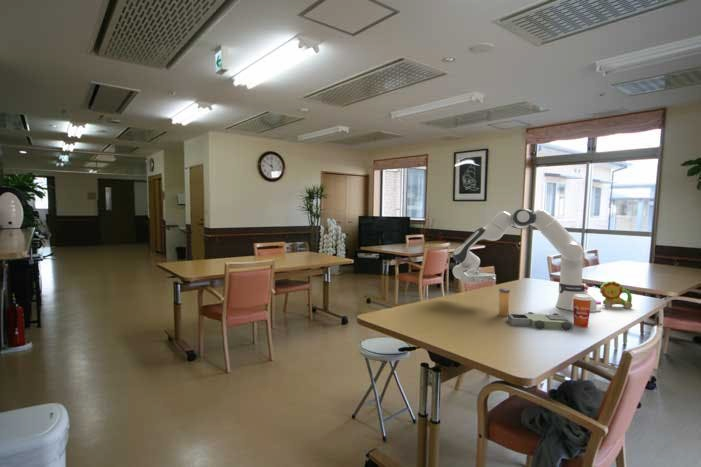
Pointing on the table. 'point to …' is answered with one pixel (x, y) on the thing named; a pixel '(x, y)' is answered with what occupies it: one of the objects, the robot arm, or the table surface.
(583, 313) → the coffee cup
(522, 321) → the box
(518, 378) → the table surface
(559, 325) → the toy wheeled cart
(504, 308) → the orange and grey cylinder
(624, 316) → the table surface
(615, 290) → the toy lion
